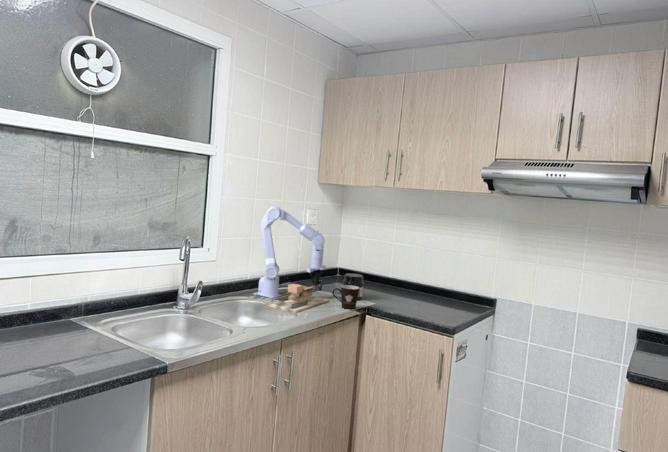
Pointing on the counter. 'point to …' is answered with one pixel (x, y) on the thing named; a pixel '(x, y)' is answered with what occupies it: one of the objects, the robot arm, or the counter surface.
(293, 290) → the block
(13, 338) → the counter surface
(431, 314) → the counter surface
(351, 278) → the supplement container
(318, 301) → the stand
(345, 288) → the coffee mug
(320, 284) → the shaft
